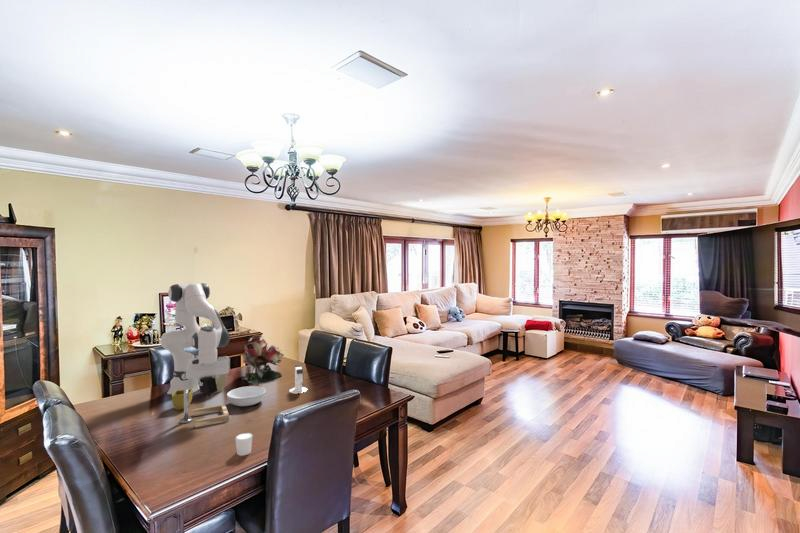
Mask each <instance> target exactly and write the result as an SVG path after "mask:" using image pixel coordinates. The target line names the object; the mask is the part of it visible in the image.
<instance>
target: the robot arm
mask: <svg viewBox="0 0 800 533" xmlns="http://www.w3.org/2000/svg"><path fill="white" fill-rule="evenodd" d="M210 294H211V290H210V286H209V285H208V284H207V283H203V282H201V283H199V282H198V283H197V282H190V283H189V282H187V283H180V284H178V283H177V284H176V283H175V284H172V285H171V286H170V287H169V289H168V292H167V296H168V298H169V300H170V301H171V302H175V309H174V310H175V312H174V314H175V315H174V321H175V323H177V324H178V325H179V326H183V327H185V328H184V329H178V330H172V331H171V330H170V331H168V332H164V333H163V334H162V335H161V337H160V341H159V342H160V346H161V347H162V348H163V349H165V350H166V351H168V352H169V353H170V354H171V355H172V358H173V366H174V367H173V368H174V369H173V373H172V374H173V378H171V380H170V382H169V384H170V386H169V389H168V390H167V392H166V394H167V395H171V396H172V395H173V393H174V392H175V391H177V390H188V389H193V393H195V392H197V391H200V388H199V386H203V382H201V381H200V378H203V377H207V376H214V375H216V379H215V380H216V384H217V379H218V378H219V375H222V374H227V375H228V374H229V372H230V365H229V364H230V362H231V361H230V360H231V359H230V357H228V356H227V355H223V356H218V348H225V347H226V346H228V344H229V343H230V340H231V338H230V337H231V336H230V333H229V332H228V330H227V328H226V326H225V324H224V323H223V320H222V319H221V317H220V313H219V312H218V310H217V308H216V307H215V306H213V305H211V304H210V303H209V301H208V300H207V299H208V298H209V297H210ZM197 317H199V318H204V319H206V320H209V321H211V323H212V326H211V325H210V326H208V325H207V326H205V325H204V326H202V327H201V326H200V325H199V324H198V322H197V320H196V318H197ZM189 347H193V349H195V350H198V353H197V354H198V355H194V354H193V353H191V352H188V351H185V348H189ZM198 382H199V383H198Z"/></svg>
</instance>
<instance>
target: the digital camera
mask: <svg viewBox="0 0 800 533" xmlns="http://www.w3.org/2000/svg"><path fill="white" fill-rule="evenodd" d="M200 381H201V382H203V386H199V388H200V390H199V391H200V393H203V394H206V395H207V394H208V395H211V394H215V393H214V392H216V391H217V385H216V380H215V378H212V377H211V376H210V377H200ZM198 384H199V382H198Z"/></svg>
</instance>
